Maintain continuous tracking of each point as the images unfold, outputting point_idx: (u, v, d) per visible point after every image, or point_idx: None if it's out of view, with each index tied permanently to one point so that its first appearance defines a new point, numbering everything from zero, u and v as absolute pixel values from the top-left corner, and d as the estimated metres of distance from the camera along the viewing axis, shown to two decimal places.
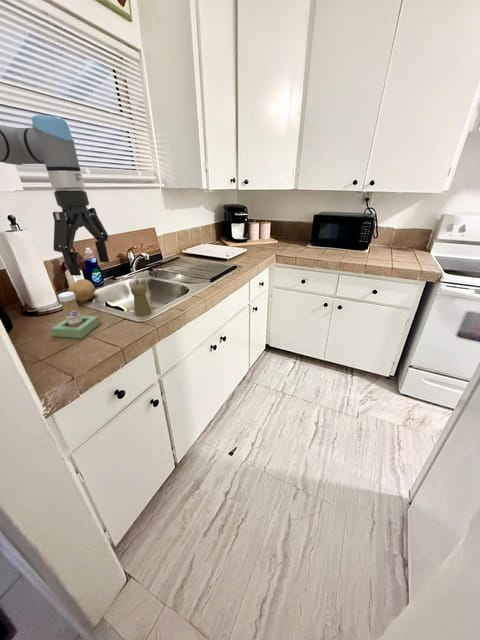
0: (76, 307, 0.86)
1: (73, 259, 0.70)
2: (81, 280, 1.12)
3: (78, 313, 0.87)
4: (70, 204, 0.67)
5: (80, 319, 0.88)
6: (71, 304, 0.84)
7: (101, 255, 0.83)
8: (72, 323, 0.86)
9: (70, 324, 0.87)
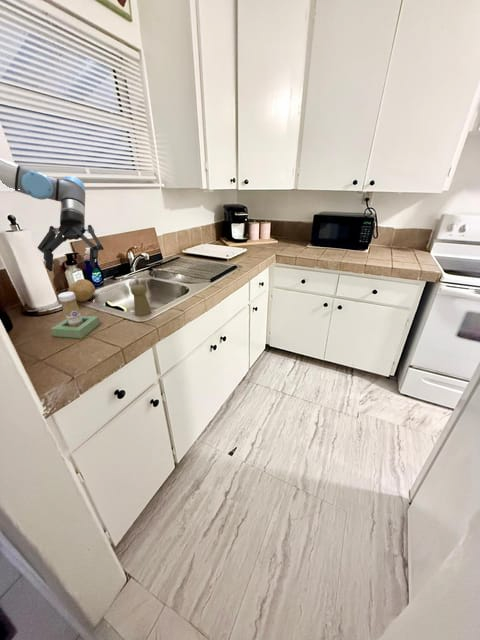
0: (76, 307, 0.86)
1: None
2: (81, 280, 1.12)
3: (78, 313, 0.87)
4: (84, 226, 0.96)
5: (80, 319, 0.88)
6: (71, 304, 0.84)
7: (50, 262, 0.88)
8: (72, 323, 0.86)
9: (70, 324, 0.87)
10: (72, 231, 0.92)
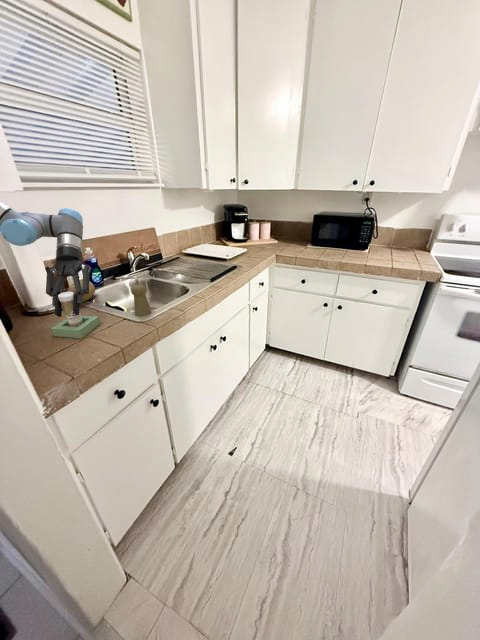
0: None
1: None
2: (81, 280, 1.12)
3: None
4: None
5: (80, 319, 0.88)
6: (71, 304, 0.84)
7: (59, 308, 0.83)
8: (72, 323, 0.86)
9: (70, 324, 0.87)
10: (69, 268, 0.87)
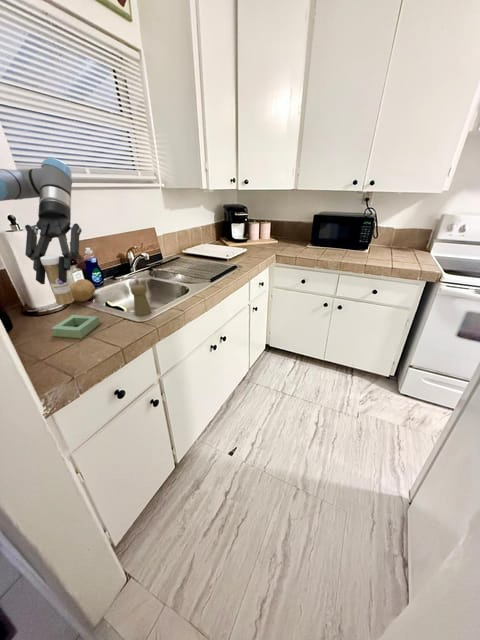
0: None
1: None
2: (81, 280, 1.12)
3: None
4: None
5: (68, 289, 0.74)
6: (56, 269, 0.70)
7: (41, 273, 0.69)
8: (58, 293, 0.72)
9: (56, 294, 0.72)
10: (54, 227, 0.72)
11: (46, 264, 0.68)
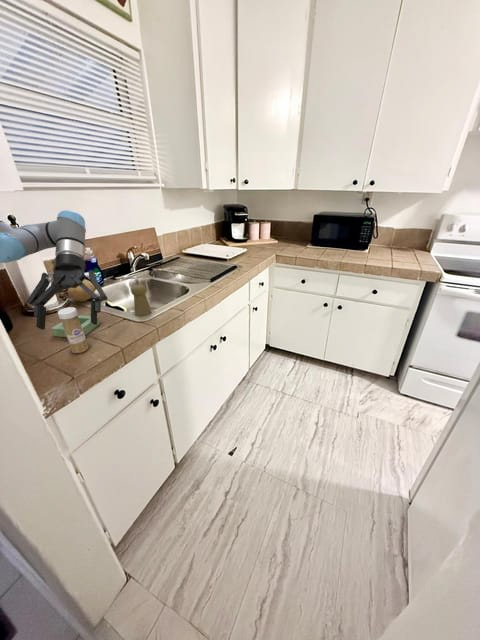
0: (78, 325, 0.75)
1: None
2: None
3: (81, 331, 0.76)
4: (84, 270, 0.80)
5: (83, 338, 0.77)
6: (72, 322, 0.73)
7: (42, 320, 0.72)
8: (74, 343, 0.76)
9: (72, 344, 0.76)
10: (69, 279, 0.76)
11: (63, 318, 0.72)
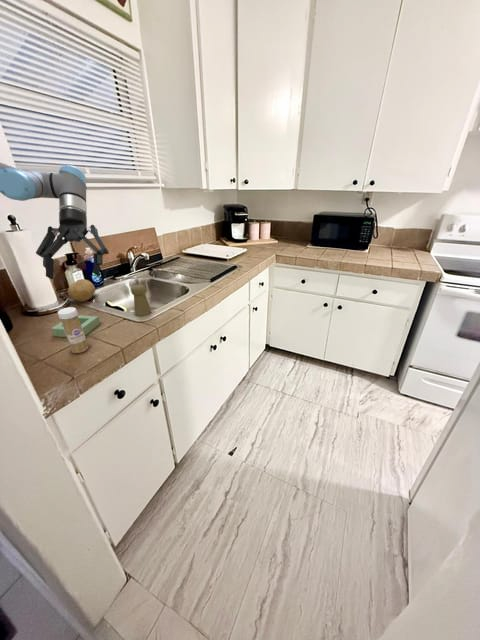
0: (78, 325, 0.75)
1: None
2: (81, 280, 1.12)
3: (81, 331, 0.76)
4: (86, 225, 0.85)
5: (83, 338, 0.77)
6: (72, 322, 0.73)
7: (50, 270, 0.80)
8: (74, 343, 0.76)
9: (72, 344, 0.76)
10: (73, 232, 0.82)
11: (63, 318, 0.72)
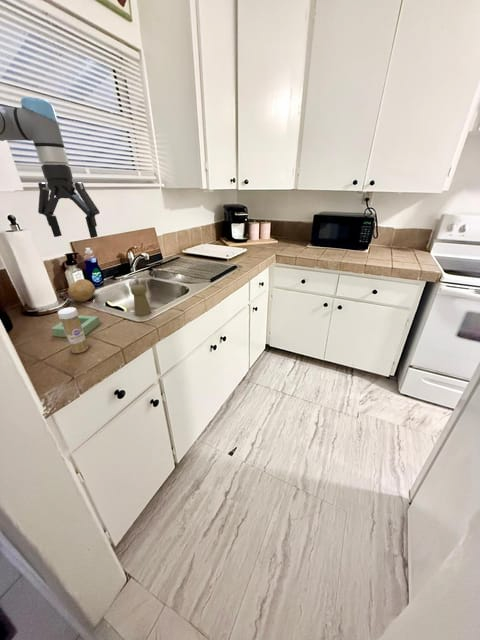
0: (78, 325, 0.75)
1: None
2: (81, 280, 1.12)
3: (81, 331, 0.76)
4: (72, 177, 0.82)
5: (83, 338, 0.77)
6: (72, 322, 0.73)
7: (56, 229, 0.89)
8: (74, 343, 0.76)
9: (72, 344, 0.76)
10: (62, 191, 0.81)
11: (63, 318, 0.72)
